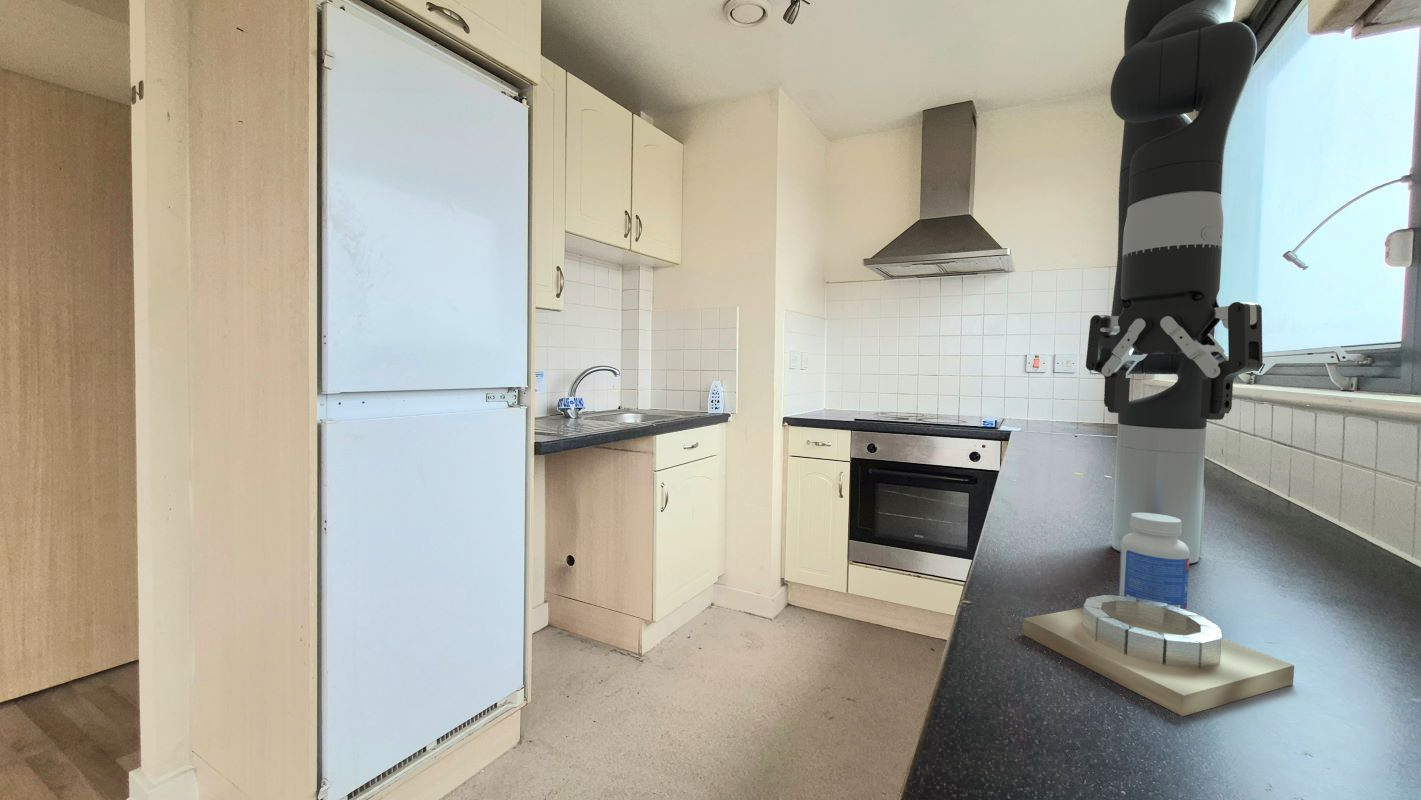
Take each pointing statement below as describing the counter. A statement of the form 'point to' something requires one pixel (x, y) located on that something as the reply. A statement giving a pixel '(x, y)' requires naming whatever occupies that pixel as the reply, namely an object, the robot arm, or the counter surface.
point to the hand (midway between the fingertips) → (1161, 415)
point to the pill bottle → (1154, 560)
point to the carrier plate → (1163, 666)
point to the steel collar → (1185, 647)
